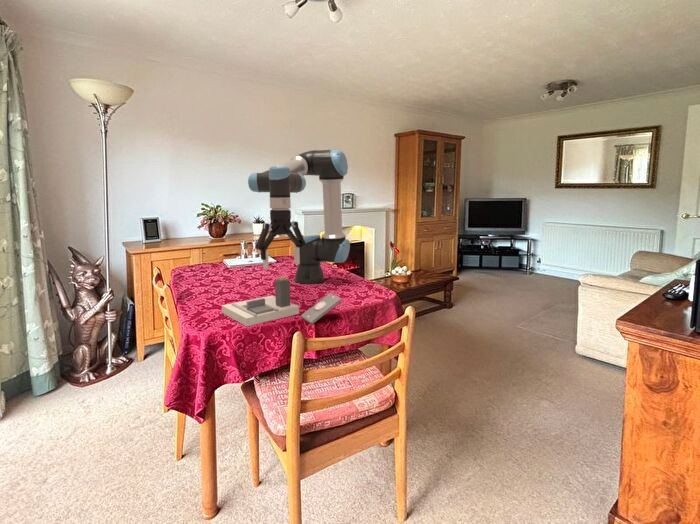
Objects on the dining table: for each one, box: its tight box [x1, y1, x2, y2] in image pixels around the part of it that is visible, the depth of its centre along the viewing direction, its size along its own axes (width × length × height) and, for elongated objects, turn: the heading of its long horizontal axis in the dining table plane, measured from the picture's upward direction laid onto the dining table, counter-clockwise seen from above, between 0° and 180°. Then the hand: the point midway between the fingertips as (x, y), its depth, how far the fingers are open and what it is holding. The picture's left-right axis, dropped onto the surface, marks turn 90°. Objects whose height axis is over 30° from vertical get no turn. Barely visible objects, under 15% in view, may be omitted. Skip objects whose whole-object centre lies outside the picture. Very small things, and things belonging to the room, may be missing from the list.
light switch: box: [300, 292, 343, 325], centre depth 150 cm, size 8×6×14 cm
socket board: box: [221, 295, 300, 327], centre depth 155 cm, size 20×22×4 cm
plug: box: [274, 275, 291, 307], centre depth 155 cm, size 4×4×11 cm
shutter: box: [246, 297, 273, 314], centre depth 149 cm, size 7×7×3 cm
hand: (281, 266), depth 153 cm, fingers open, 13 cm apart
